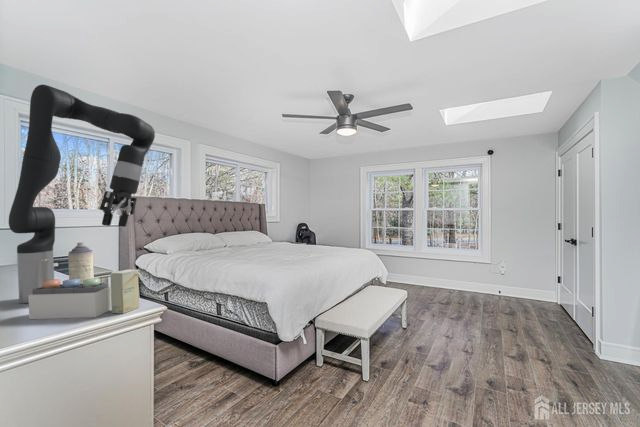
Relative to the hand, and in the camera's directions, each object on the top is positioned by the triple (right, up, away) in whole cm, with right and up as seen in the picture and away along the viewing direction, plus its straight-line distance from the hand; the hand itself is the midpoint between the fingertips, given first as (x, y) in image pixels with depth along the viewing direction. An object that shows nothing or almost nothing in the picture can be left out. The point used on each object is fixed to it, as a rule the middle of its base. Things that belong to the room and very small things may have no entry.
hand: (114, 225), depth 94 cm
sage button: (-2, -18, -6) cm, 19 cm away
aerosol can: (-19, -27, +11) cm, 34 cm away
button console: (-8, -26, -6) cm, 28 cm away
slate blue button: (-8, -18, -6) cm, 21 cm away
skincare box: (+7, -26, -4) cm, 27 cm away
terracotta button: (-14, -18, -7) cm, 24 cm away
